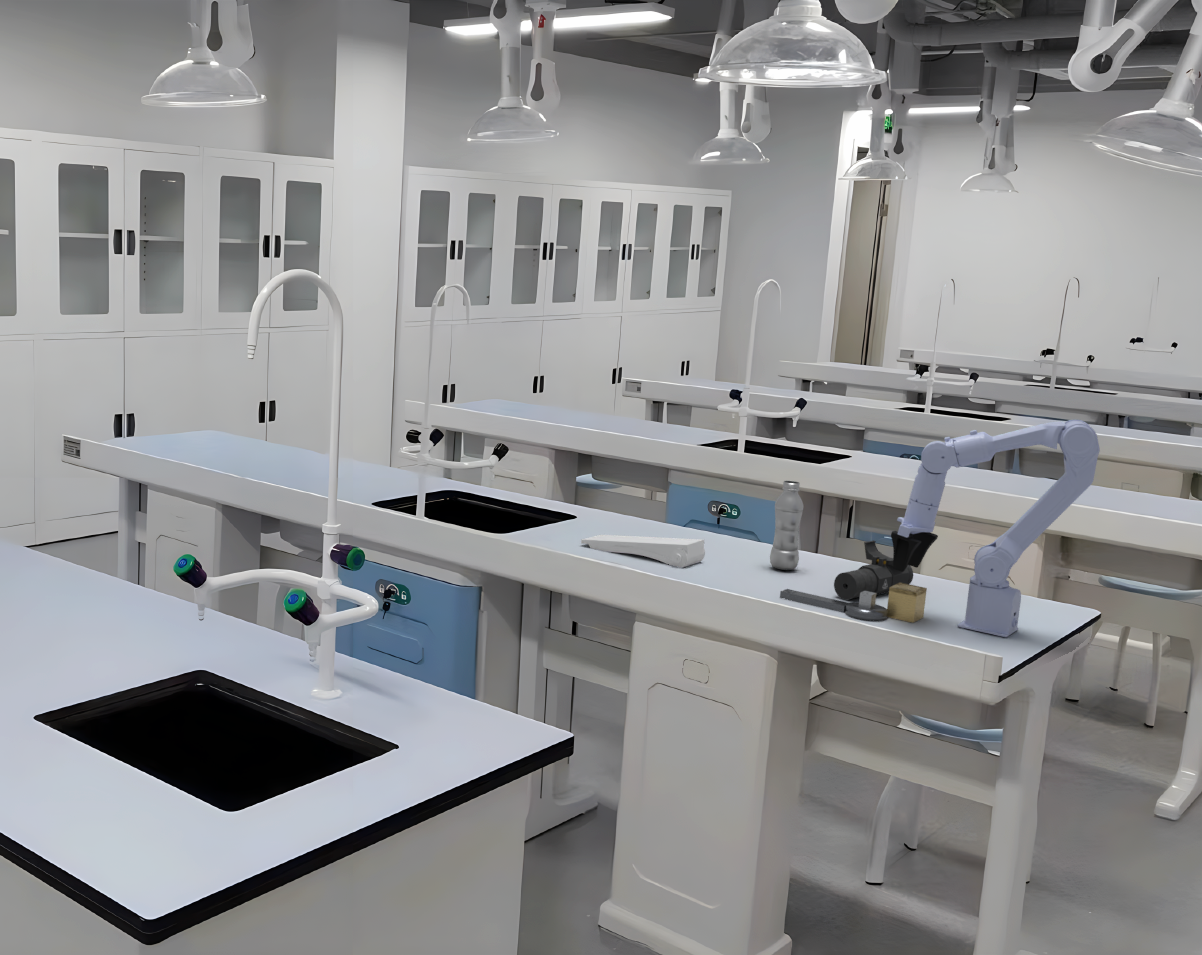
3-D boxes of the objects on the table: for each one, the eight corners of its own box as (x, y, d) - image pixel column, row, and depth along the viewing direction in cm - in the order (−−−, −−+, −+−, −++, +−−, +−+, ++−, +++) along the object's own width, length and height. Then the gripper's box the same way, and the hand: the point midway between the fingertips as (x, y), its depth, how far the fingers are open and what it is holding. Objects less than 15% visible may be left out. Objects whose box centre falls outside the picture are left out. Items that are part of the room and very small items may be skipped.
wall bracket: (583, 571, 273) (688, 578, 258) (577, 542, 271) (683, 547, 255) (605, 554, 281) (708, 560, 265) (599, 526, 278) (703, 530, 263)
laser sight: (824, 595, 243) (829, 548, 242) (883, 581, 259) (888, 537, 257) (864, 606, 236) (869, 558, 235) (922, 592, 252) (927, 546, 251)
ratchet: (892, 616, 230) (895, 593, 229) (877, 624, 223) (879, 600, 223) (791, 593, 242) (793, 571, 242) (774, 600, 236) (776, 577, 235)
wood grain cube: (923, 617, 230) (926, 588, 229) (913, 622, 226) (916, 592, 225) (896, 611, 233) (899, 582, 232) (886, 616, 229) (889, 587, 228)
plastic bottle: (776, 573, 259) (784, 484, 256) (763, 565, 265) (772, 479, 262) (802, 573, 261) (811, 485, 258) (790, 565, 267) (798, 479, 264)
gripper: (918, 493, 234) (900, 557, 237) (891, 498, 222) (872, 565, 225) (951, 504, 230) (932, 569, 233) (926, 509, 218) (906, 577, 221)
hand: (905, 568), depth 229 cm, fingers open, 7 cm apart
